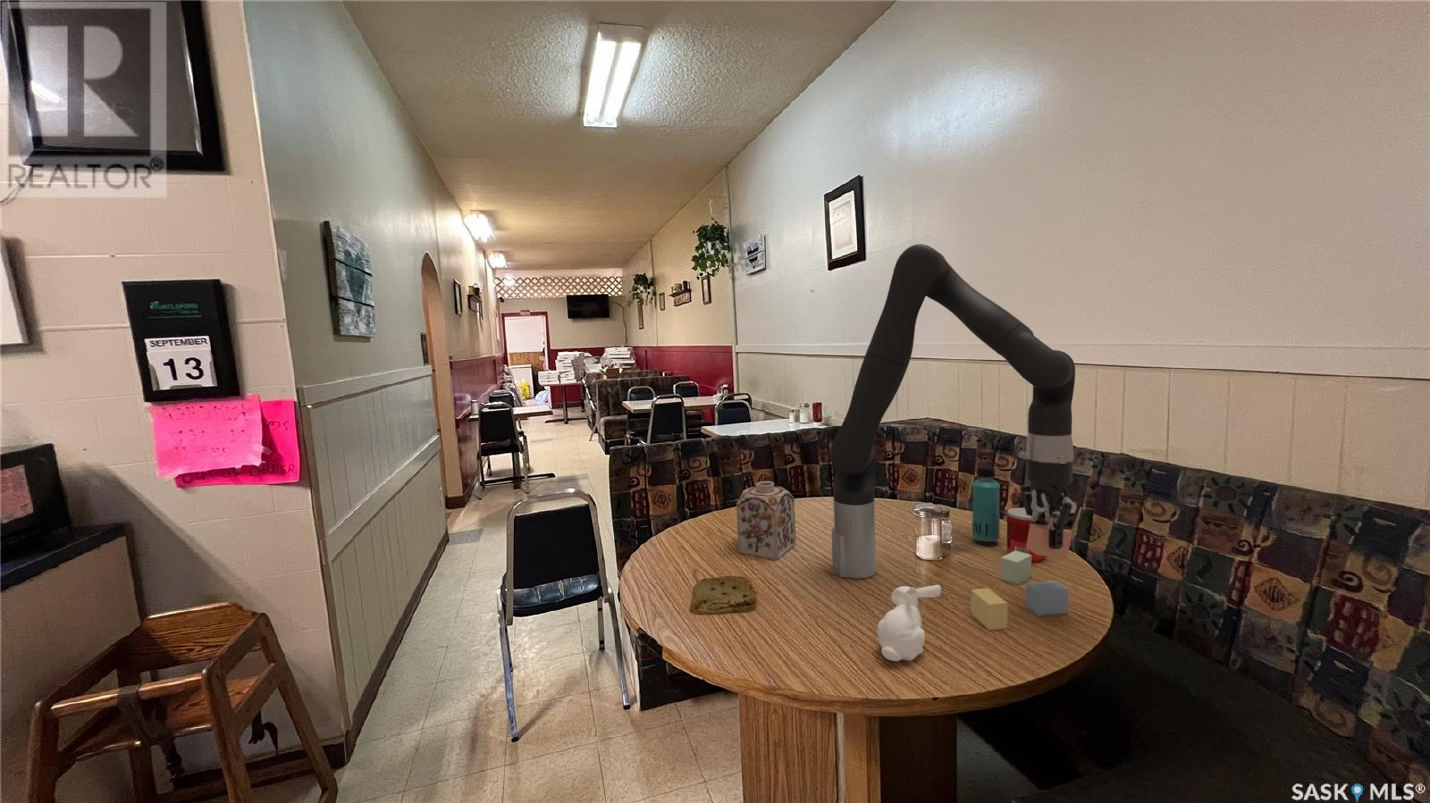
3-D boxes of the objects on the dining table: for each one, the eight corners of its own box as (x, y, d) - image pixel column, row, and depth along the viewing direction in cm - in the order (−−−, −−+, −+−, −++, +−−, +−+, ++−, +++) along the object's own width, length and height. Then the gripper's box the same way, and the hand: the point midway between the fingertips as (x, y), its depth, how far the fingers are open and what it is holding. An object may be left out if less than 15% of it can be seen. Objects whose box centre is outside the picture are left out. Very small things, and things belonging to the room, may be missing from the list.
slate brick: (1038, 615, 103) (1038, 591, 102) (1026, 607, 106) (1026, 582, 106) (1067, 613, 103) (1068, 588, 103) (1054, 604, 107) (1055, 580, 106)
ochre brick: (1007, 628, 99) (1007, 602, 99) (989, 630, 99) (989, 604, 98) (988, 612, 105) (988, 588, 105) (971, 614, 105) (971, 589, 104)
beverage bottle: (997, 538, 141) (998, 464, 139) (1002, 548, 135) (1002, 470, 133) (970, 537, 143) (970, 463, 141) (973, 546, 137) (973, 469, 135)
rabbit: (892, 628, 101) (892, 567, 100) (945, 643, 95) (945, 579, 94) (867, 660, 92) (866, 593, 90) (924, 679, 86) (923, 607, 84)
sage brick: (1017, 584, 116) (1017, 562, 115) (1001, 579, 119) (1001, 557, 118) (1031, 576, 119) (1031, 555, 119) (1015, 571, 122) (1015, 550, 122)
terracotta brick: (1037, 555, 102) (1042, 529, 101) (1025, 548, 105) (1030, 523, 105) (1067, 557, 102) (1072, 532, 102) (1054, 550, 106) (1058, 526, 105)
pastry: (723, 575, 129) (722, 563, 128) (779, 597, 116) (779, 584, 116) (667, 602, 117) (666, 589, 116) (723, 629, 104) (722, 615, 104)
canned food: (1052, 562, 126) (1052, 516, 124) (1017, 563, 126) (1017, 518, 125) (1033, 549, 133) (1034, 506, 132) (1000, 551, 133) (1001, 508, 132)
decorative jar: (797, 545, 144) (794, 479, 142) (778, 561, 134) (775, 491, 132) (757, 538, 150) (754, 475, 148) (736, 553, 141) (733, 486, 139)
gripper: (1007, 450, 108) (1006, 533, 110) (1056, 466, 94) (1055, 560, 96) (1042, 448, 109) (1041, 530, 111) (1097, 463, 95) (1094, 557, 97)
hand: (1047, 543), depth 104 cm, fingers closed on terracotta brick, 3 cm apart
